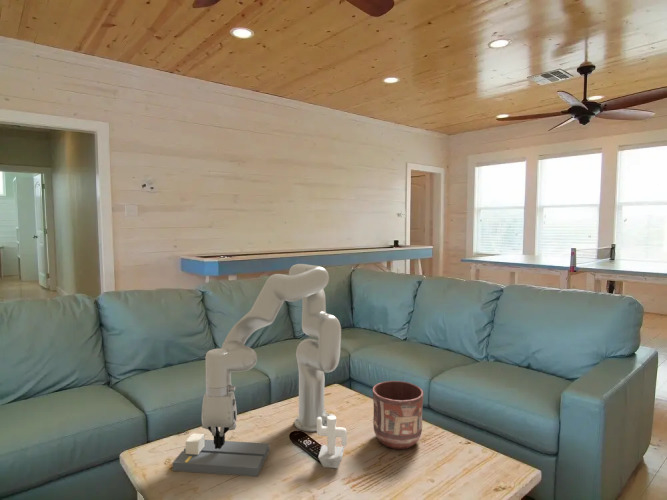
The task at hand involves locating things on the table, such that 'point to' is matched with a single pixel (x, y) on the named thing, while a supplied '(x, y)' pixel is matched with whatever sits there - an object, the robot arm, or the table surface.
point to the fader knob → (194, 444)
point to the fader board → (224, 459)
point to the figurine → (331, 442)
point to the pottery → (397, 413)
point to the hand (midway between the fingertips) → (219, 446)
